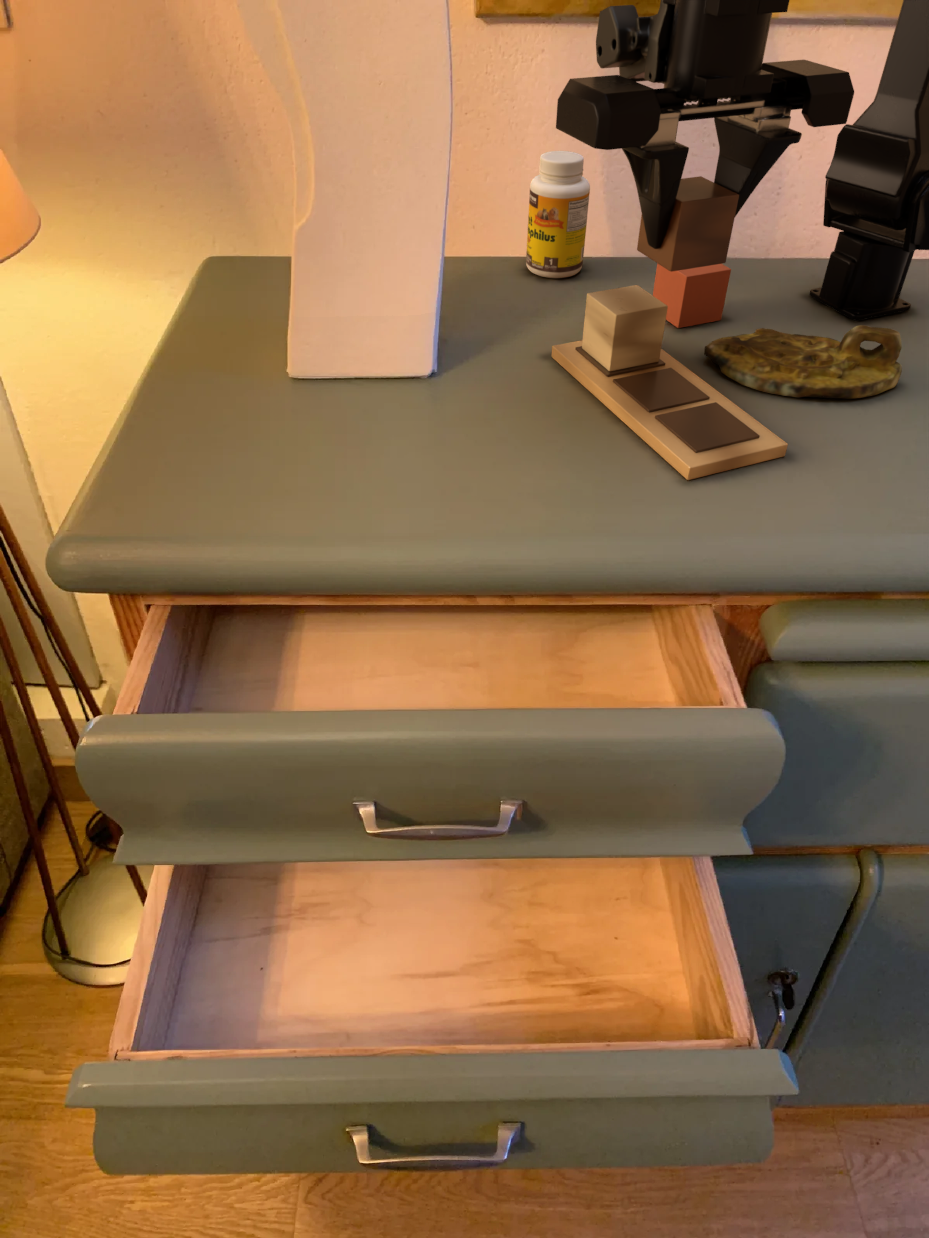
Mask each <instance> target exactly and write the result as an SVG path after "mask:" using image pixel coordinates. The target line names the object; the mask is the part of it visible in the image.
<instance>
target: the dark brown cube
mask: <svg viewBox="0 0 929 1238" xmlns="http://www.w3.org/2000/svg"><path fill="white" fill-rule="evenodd" d="M738 199H739V194H737V193H734V192H732V191H730V190H728V189H726V188H724V187H722V186H720V185H718V184H716V183H714V181H712V180H709V179H707V178H705V177H703V176H702V175H699V176H691V177H683V178H681V181H680V185H679V189H678V193H677V196H676V200H675V204H674V208H673V211H672V215H671V219H670V223H669V227H668V230H667V233H666V235H665V238H664V240H663V243H662V245H661V248H659V249H654V248H652V247H651V246H649V244H648V242H647V237H646V232H645V227H644V222H643V217H642V214H641V217H640V223H639V230H638V231H639V232H638V239H637V246H636V251H638V252H639V253H641V254H642V255H644V256H645V257H647V258H648V259H650V260H652V261H653V262H655V263H658V264H659V265H661V266H663V267H664V268H666V269H667V270H669V271H671V272H672V271H679V270H685V269H691V268H697V267H704V266H710V265H716V264H726V262H727V258H728V254H729V248H730V244H731V243H730V242H731V239H732V232H733V228H734V224H735V223H734V222H735V218H736V217H735V214H736V209H737V204H738Z"/></svg>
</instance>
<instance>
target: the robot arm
mask: <svg viewBox="0 0 929 1238" xmlns="http://www.w3.org/2000/svg"><path fill="white" fill-rule="evenodd" d="M659 2H660V4H659V7H658V11H657V13H655V14H653V15H650V16H639V14H638V11H637V7H636V6H635V5H634V4H623V5H610V6H607V7H606V8H604V9H602V10H600V11H599V15H598V22H597V31H596V37H595V52H596V54H595V55H596V63H597V65H598V66H599V67H600V69H613V68H614V69H615V68H618V72H619V73H618V74H612V75H599V76H586V77H575V78H569V80H568V81H567V83H566V85H565V86H564V88H563V89H562V92H561V93H560V94H559V96H558V98H557V105H556V117H555V118H556V119H555V122H556V123H555V129H557V130H558V131H560V132H562V133H564V134H566V135H568V136H570V137H572V138H574V139H576V140H577V141H579V142H582V143H583V144H585V145H587V146H589V147H590V148H593V149H596V150H605V151H612V150H622V152H623V154H624V155H625V157H626V159H627V161H628V163H629V167H630V170H631V172H632V176H633V179H634V183H635V187H636V191H637V196H638V201H639V205H640V210H641V215H642V217H643V222H644V227H645V232H646V237H647V242H648V244H649V246H651V247H652V248H654V249H659V248H661V245H662V243H663V240H664V238H665V235H666V233H667V230H668V227H669V223H670V219H671V215H672V211H673V208H674V204H675V200H676V196H677V193H678V189H679V185H680V181H681V179H683V178H682V177H683V173H684V171H685V165H686V162H687V160H688V159H687V158H688V154H689V150H690V147H688V146H686V145H684V144H683V143H679V142H678V141H677V134H678V129H679V128H678V127H679V122H687V121H696V120H706V119H707V120H708V119H713V123H714V126H715V131H716V138H717V142H718V147H719V148H718V149H719V150H718V151H719V152H718V158H717V163H716V169H715V175H714V180H713V182H714V183H716V184H718V185H720V186H722V187H724V188H726V189H728V190H730V191H732V192H734V193H737V194H739V199H738V204H737V209H736V214H735V218H736V217H737V215H738V213H739V212H740V211H741V209H742V208H743V207H744V205H745V204H746V202H747V201H748V199H749V198H750V196H751V195H752V194H753V192H754V191H755V190H756V188H757V187H758V185H759V184H760V183H761V181H762V180H763V179H764V178H765V176H767V174H768V173H769V171H770V170H771V169H772V168H773V167H774V165H775V164H776V162H778V160H779V159H780V157H782V155H783V154H784V152H785V151H786V150H787V149H788V148H789V147H790V146H791V145H793V144H799V143H800V141H801V138H802V135H803V134H802V132H801V131H797V130H795V129H792V128H790V124H791V119H792V116H791V112H792V111H793V110H795V111H796V110H801V114H802V117H803V119H804V121H805V122H806V124H807V126H810V127H812V128H819V127H820V128H821V127H829V126H838V125H839V126H840V125H843V126H842V128H841V130H840V131H839V133H838V134H837V136H836V141H835V148H834V152H833V156H832V160H831V163H830V164H829V167H828V170H827V172H826V174H825V176H824V178H825V186H824V205H823V223H822V225H823V227H825V228H833V229H837V230H839V231H838V234H837V239H836V241H835V246H834V249H833V250H832V251H831V252H830V255H829V259H828V262H827V265H826V269H825V273H824V276H823V280H822V284H821V287H816V288H811V289H809V292H808V295H809V297H811V298H813V299H814V300H816V301H818V302H820V303H822V304H823V305H825V306H827V307H829V308H831V309H833V311H836V312H838V313H839V314H842V315H843V316H845V317H846V318H848V319H850V320H852V321H862V320H863V321H864V320H868V319H873V318H878V317H882V316H888V315H893V314H898V313H904V312H907V311H910V310H911V307H912V304H911V303H910V302H908V301H906V300H904V299H902V298H900V296H901V294H902V290H903V287H904V284H905V282H906V279H907V275H908V272H909V269H910V267H911V263H912V260H913V257H914V254H915V252H916V251H929V0H902V4H901V7H900V10H899V15H898V17H897V20H896V25H895V28H894V31H893V35H892V38H891V42H890V44H889V48H888V52H887V55H886V59H885V62H884V65H883V68H882V69H883V70H882V73H881V77H880V79H879V84H878V87H877V89H876V94H875V97H874V99H873V100H872V102H871V104H869V106H868V107H867V108H866V109H865V110H864V111H863V113H861V115H860V116H859V117H858V118H857V119H856V120H855V121H854V122H853V123H852V124H849V123H847V122H848V118H849V115H850V111H851V108H852V103H853V100H854V95H855V89H854V86H853V85H854V84H853V82H852V78H851V75H850V72H849V71H847V70H842V69H839V68H836V67H832V66H829V65H825V64H821V63H818V62H814V61H811V60H808V59H796V60H795V59H794V60H782V61H781V60H780V61H770V62H764V58H765V53H766V49H767V48H766V47H767V42H768V37H769V33H770V27H771V22H772V16H773V14H776V13H778V14H779V13H788V9H789V5H790V0H660V1H659ZM641 82H650V83H653V84H663V87H662V88H653V87H650V86H647V85H645V84H643V83H641ZM723 99H724V100H723ZM722 100H723V101H722ZM692 102H693V103H692ZM689 103H691V104H689Z"/></svg>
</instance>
